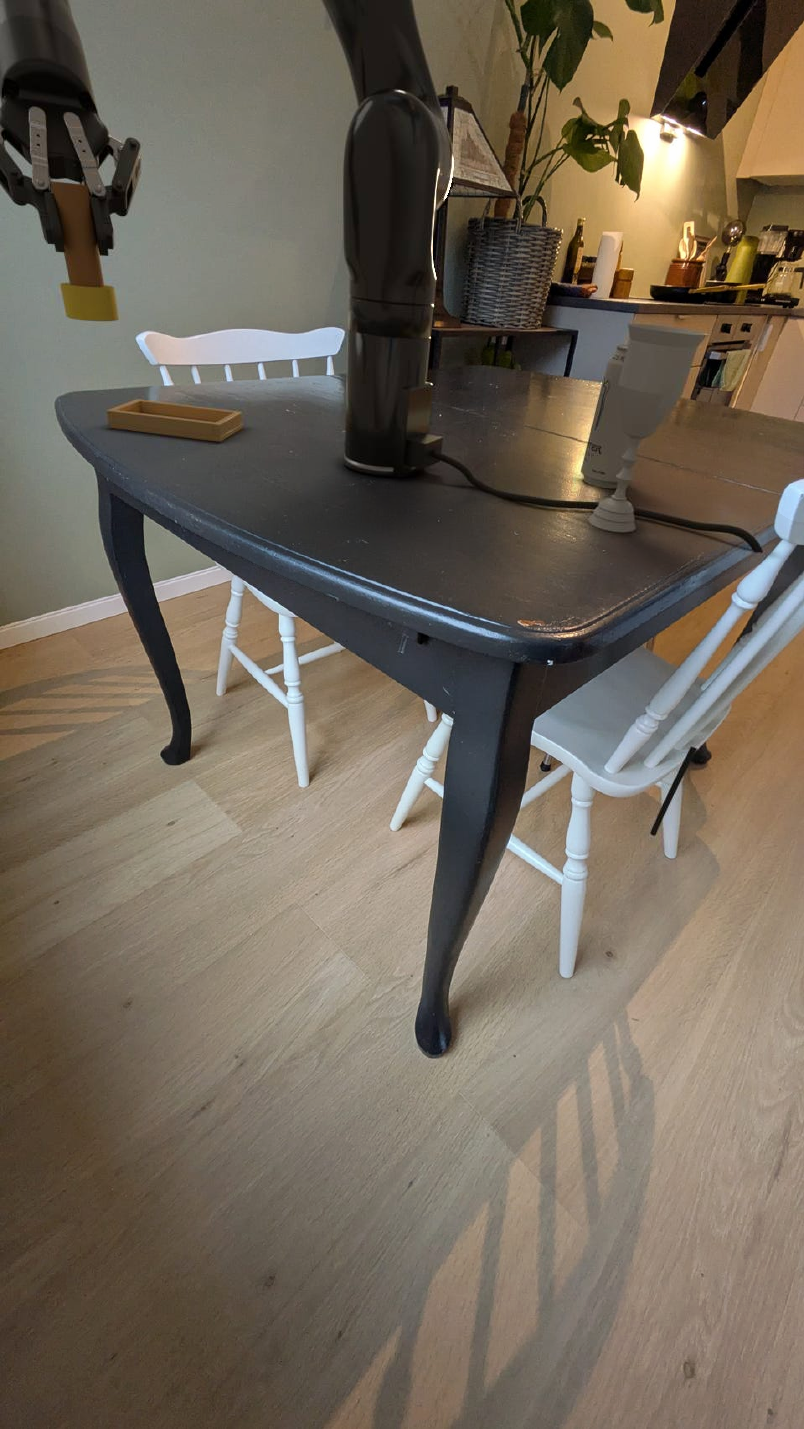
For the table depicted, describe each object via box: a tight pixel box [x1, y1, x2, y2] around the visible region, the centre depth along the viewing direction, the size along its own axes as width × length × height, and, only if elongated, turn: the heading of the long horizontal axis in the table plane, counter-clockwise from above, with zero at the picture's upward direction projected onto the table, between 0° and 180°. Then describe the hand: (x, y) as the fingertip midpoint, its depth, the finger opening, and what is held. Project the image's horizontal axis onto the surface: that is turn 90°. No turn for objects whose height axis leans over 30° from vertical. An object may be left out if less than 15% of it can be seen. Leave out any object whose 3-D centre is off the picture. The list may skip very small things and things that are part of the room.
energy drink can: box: [580, 344, 630, 490], centre depth 76 cm, size 6×6×15 cm
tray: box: [106, 398, 243, 443], centre depth 84 cm, size 15×8×2 cm, turn 81°
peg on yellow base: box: [50, 180, 120, 322], centre depth 55 cm, size 4×4×10 cm
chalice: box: [587, 323, 708, 533], centre depth 62 cm, size 7×7×18 cm
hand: (81, 245), depth 53 cm, fingers closed on peg on yellow base, 3 cm apart
